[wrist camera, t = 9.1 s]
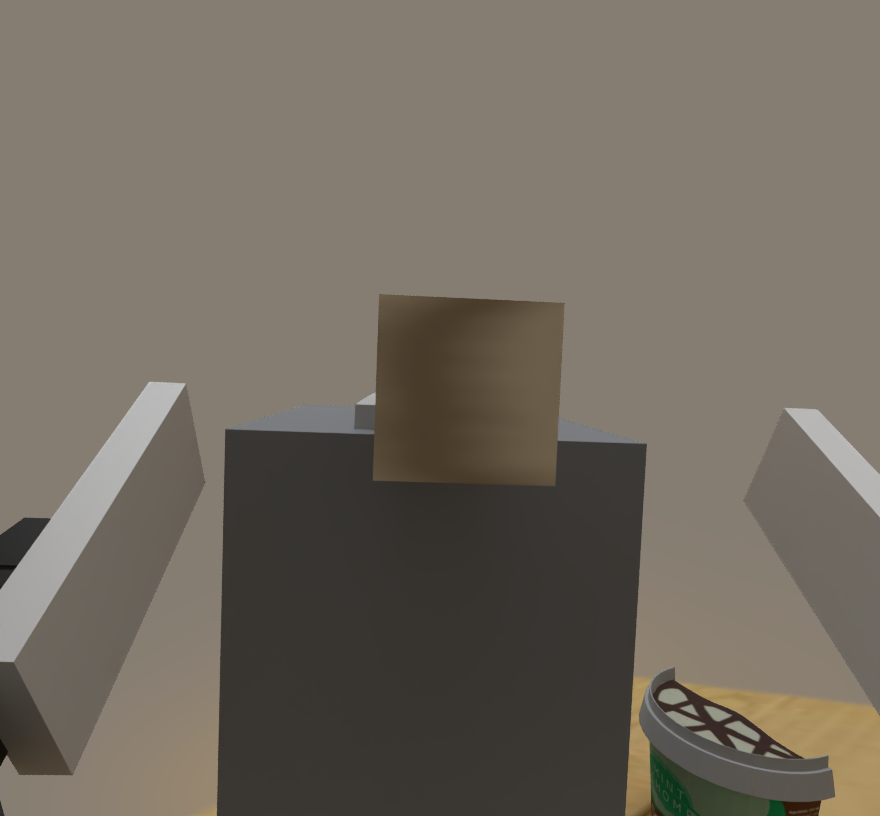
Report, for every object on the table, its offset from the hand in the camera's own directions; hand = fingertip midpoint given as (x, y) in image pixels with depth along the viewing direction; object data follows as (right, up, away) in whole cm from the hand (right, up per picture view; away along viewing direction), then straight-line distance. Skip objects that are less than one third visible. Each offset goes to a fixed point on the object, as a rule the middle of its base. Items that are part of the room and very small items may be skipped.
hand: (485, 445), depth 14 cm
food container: (+15, -28, +25) cm, 41 cm away
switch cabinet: (-3, -28, +20) cm, 34 cm away
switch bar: (-1, 0, +12) cm, 13 cm away
